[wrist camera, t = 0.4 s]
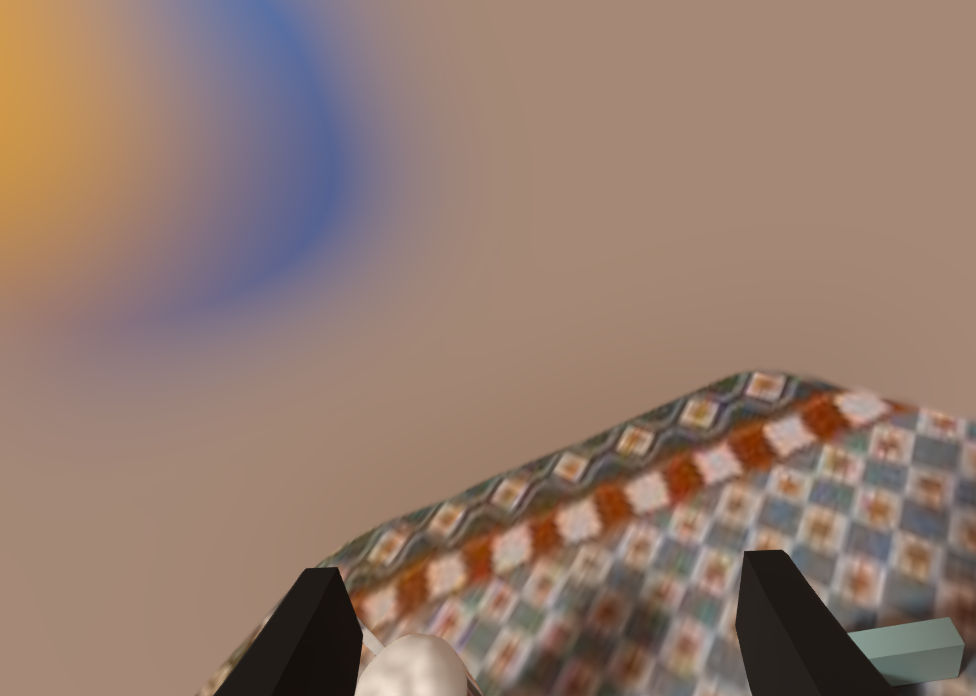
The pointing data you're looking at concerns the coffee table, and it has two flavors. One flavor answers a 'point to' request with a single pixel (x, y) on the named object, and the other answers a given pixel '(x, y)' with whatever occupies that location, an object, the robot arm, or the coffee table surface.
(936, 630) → the divider wall
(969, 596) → the coffee table surface
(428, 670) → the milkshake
